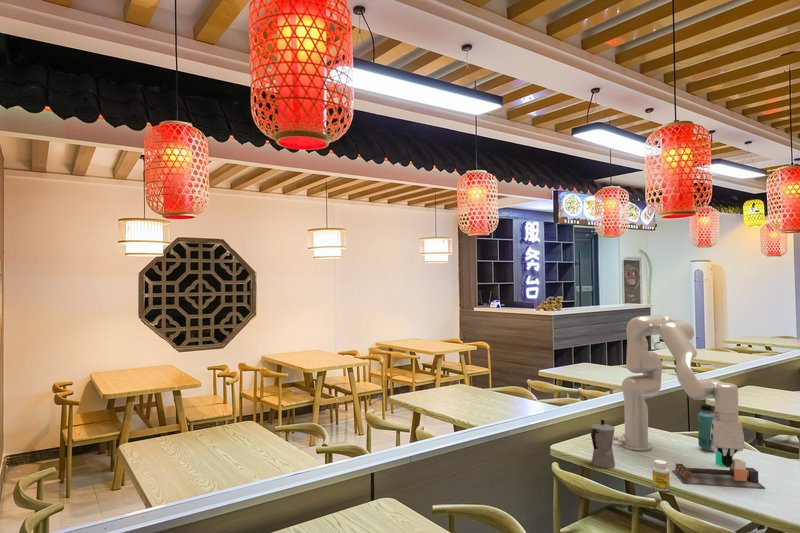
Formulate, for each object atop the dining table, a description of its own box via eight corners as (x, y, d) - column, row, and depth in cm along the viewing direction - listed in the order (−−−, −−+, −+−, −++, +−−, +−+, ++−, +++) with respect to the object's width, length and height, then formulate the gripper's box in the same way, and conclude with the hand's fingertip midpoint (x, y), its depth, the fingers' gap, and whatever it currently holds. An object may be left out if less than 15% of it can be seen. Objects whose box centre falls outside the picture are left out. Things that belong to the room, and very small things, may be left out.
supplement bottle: (668, 486, 185) (668, 460, 185) (670, 492, 180) (670, 465, 180) (652, 484, 187) (651, 458, 187) (653, 490, 182) (653, 463, 182)
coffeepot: (600, 457, 216) (599, 414, 216) (622, 463, 209) (621, 419, 209) (581, 466, 206) (580, 421, 206) (603, 473, 199) (603, 426, 199)
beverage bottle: (710, 448, 227) (710, 403, 228) (718, 453, 221) (717, 406, 221) (695, 447, 228) (694, 402, 228) (702, 452, 221) (702, 406, 222)
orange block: (734, 480, 188) (734, 461, 189) (729, 476, 193) (729, 457, 193) (746, 481, 188) (746, 462, 188) (741, 477, 192) (741, 458, 192)
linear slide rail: (683, 483, 188) (683, 471, 188) (672, 471, 200) (672, 459, 200) (764, 489, 183) (764, 476, 183) (748, 476, 195) (748, 464, 195)
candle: (730, 462, 209) (730, 433, 210) (734, 467, 204) (734, 437, 204) (713, 461, 211) (713, 431, 212) (717, 466, 206) (717, 436, 206)
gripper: (708, 418, 189) (709, 468, 189) (753, 420, 186) (754, 471, 186) (700, 412, 196) (701, 460, 196) (743, 414, 194) (744, 463, 193)
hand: (726, 465), depth 191 cm, fingers closed
